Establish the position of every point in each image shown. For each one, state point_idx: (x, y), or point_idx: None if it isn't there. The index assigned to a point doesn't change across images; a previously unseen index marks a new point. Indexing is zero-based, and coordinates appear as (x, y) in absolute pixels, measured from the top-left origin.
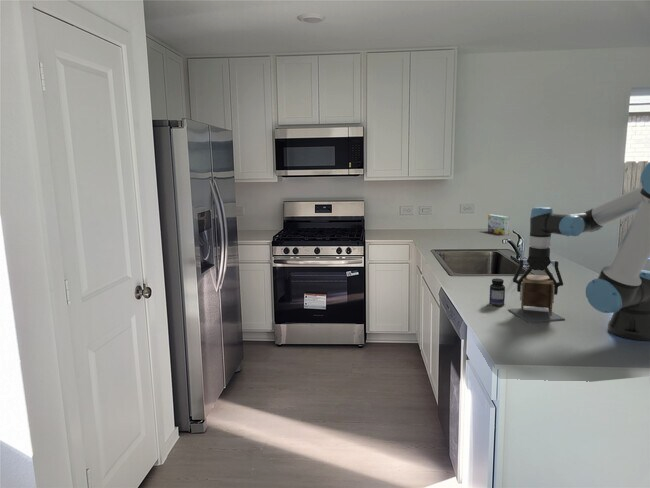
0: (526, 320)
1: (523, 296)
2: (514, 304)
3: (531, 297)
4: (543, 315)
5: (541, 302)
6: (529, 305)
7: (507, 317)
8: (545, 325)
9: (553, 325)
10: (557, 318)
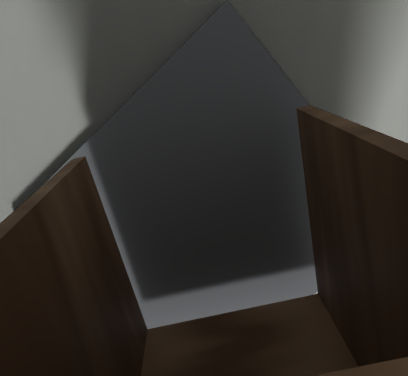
0: (248, 28)
1: (387, 145)
2: None
3: (279, 365)
4: (155, 211)
5: (194, 349)
6: (274, 307)
7: (398, 55)
8: (90, 6)
9: (38, 43)
10: None
